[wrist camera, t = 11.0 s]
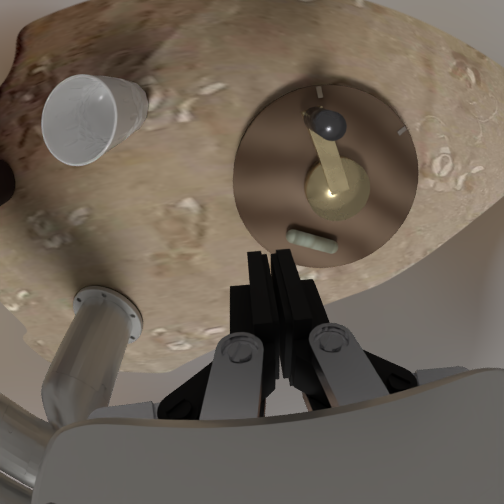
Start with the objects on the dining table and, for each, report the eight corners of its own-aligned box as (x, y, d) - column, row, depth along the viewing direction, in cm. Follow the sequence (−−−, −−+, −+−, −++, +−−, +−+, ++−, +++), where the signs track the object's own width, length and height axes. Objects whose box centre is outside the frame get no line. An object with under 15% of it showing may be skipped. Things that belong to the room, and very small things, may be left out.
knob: (370, 202, 31) (397, 232, 25) (315, 223, 32) (331, 258, 26) (338, 95, 25) (366, 99, 19) (274, 117, 26) (284, 126, 20)
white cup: (134, 61, 24) (91, 55, 15) (166, 118, 28) (134, 132, 19) (81, 101, 25) (29, 113, 17) (111, 154, 29) (67, 182, 21)
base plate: (365, 273, 39) (374, 289, 36) (213, 236, 35) (210, 251, 32) (433, 133, 28) (450, 139, 25) (267, 56, 24) (270, 52, 21)
